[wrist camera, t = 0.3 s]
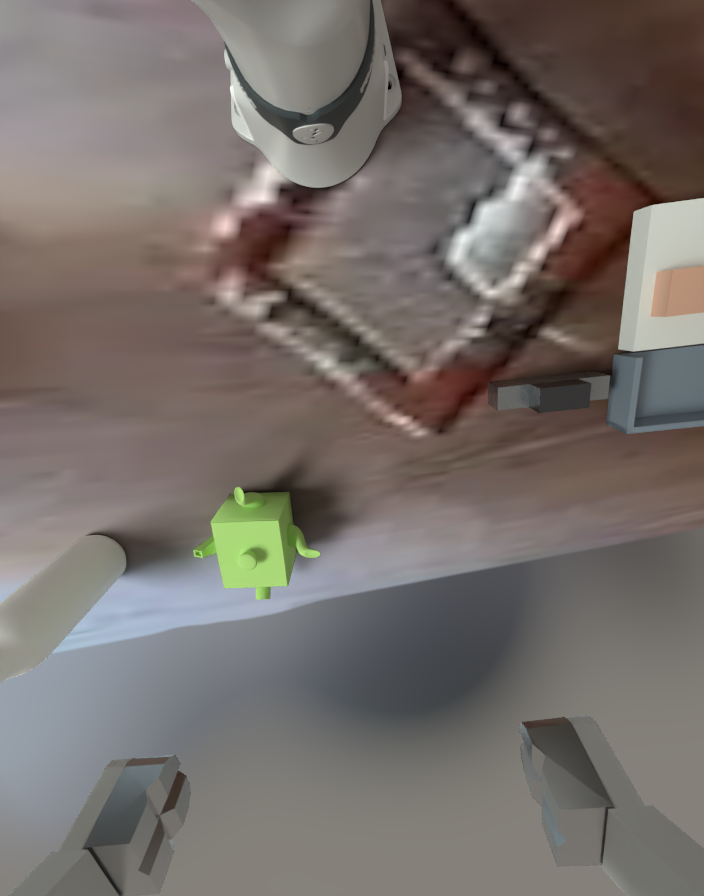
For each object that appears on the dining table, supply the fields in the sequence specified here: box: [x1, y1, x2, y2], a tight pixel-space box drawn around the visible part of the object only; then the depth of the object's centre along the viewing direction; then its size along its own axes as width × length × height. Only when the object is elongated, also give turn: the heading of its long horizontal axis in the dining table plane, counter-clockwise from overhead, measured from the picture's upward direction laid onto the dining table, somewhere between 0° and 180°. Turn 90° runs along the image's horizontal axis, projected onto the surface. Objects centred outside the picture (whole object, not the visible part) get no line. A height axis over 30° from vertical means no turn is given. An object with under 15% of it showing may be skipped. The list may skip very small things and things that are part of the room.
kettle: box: [193, 487, 320, 599], centre depth 55 cm, size 15×14×11 cm
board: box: [618, 198, 704, 352], centre depth 46 cm, size 16×16×3 cm
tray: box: [606, 344, 704, 434], centre depth 50 cm, size 10×17×4 cm, turn 97°
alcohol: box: [0, 535, 126, 683], centre depth 49 cm, size 9×9×30 cm
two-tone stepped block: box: [488, 371, 610, 413], centre depth 49 cm, size 3×14×7 cm, turn 96°
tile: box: [650, 266, 704, 317], centre depth 44 cm, size 5×5×2 cm
